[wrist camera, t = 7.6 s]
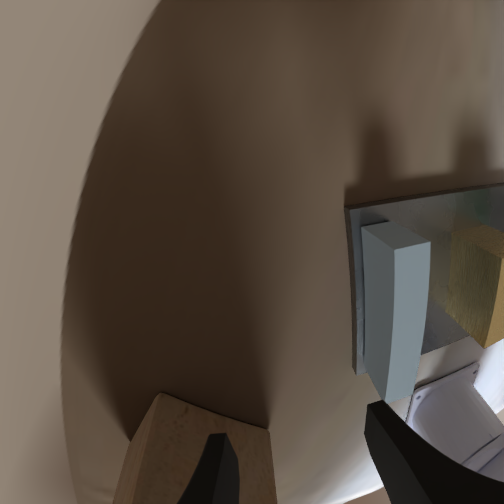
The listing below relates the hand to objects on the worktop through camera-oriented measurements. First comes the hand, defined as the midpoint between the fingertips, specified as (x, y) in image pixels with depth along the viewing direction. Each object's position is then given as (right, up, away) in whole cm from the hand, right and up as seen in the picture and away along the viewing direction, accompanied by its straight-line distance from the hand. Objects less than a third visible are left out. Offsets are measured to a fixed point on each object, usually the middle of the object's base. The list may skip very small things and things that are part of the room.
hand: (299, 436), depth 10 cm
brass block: (+13, +6, +7) cm, 16 cm away
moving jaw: (+6, +4, +8) cm, 10 cm away
